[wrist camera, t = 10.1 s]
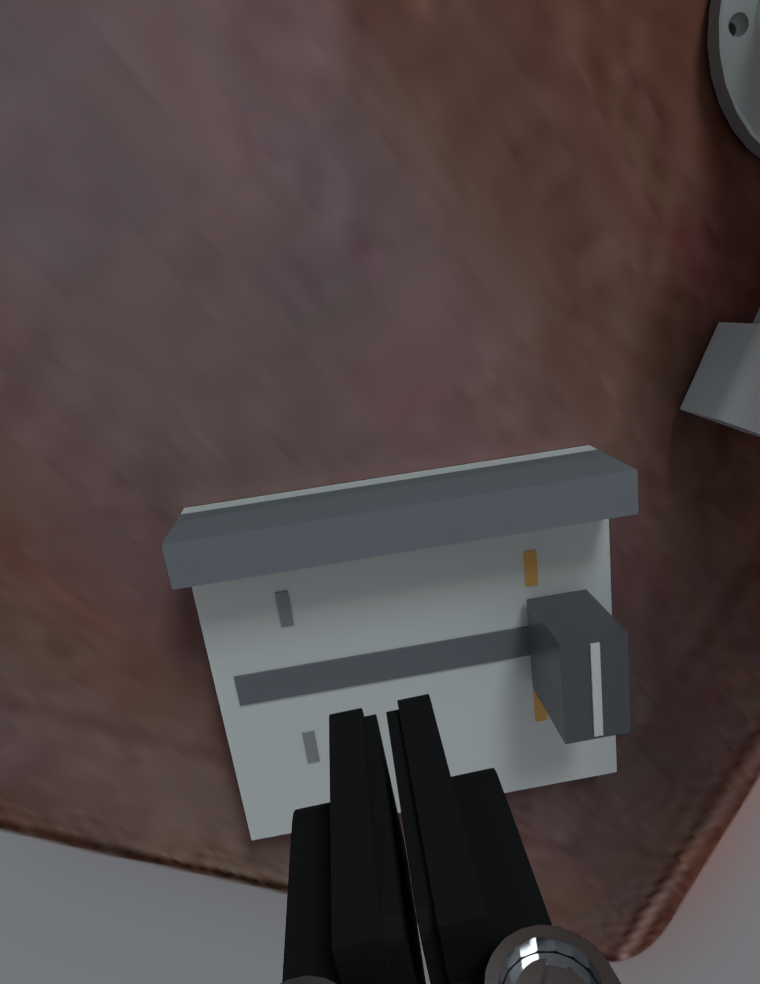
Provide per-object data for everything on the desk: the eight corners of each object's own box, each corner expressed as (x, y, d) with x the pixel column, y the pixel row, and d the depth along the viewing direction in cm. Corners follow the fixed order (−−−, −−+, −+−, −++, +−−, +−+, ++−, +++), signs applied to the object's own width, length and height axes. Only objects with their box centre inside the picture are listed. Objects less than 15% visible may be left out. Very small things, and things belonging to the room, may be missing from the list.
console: (589, 445, 32) (637, 469, 27) (600, 748, 37) (643, 813, 33) (184, 507, 31) (161, 544, 26) (254, 811, 36) (246, 889, 31)
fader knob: (586, 589, 32) (629, 633, 27) (590, 678, 33) (631, 733, 29) (526, 599, 31) (560, 645, 27) (532, 688, 33) (566, 745, 29)
